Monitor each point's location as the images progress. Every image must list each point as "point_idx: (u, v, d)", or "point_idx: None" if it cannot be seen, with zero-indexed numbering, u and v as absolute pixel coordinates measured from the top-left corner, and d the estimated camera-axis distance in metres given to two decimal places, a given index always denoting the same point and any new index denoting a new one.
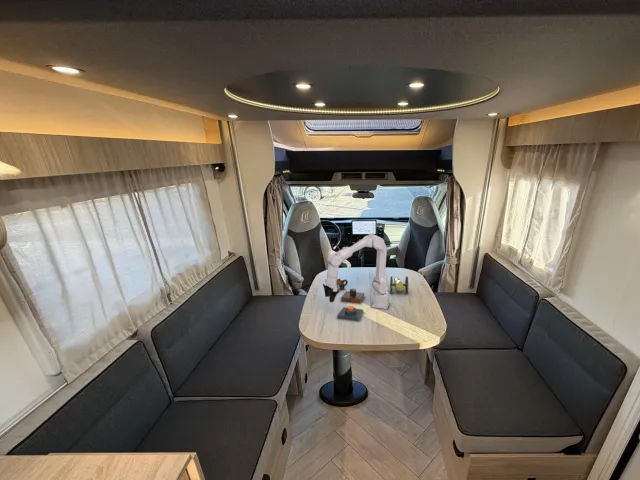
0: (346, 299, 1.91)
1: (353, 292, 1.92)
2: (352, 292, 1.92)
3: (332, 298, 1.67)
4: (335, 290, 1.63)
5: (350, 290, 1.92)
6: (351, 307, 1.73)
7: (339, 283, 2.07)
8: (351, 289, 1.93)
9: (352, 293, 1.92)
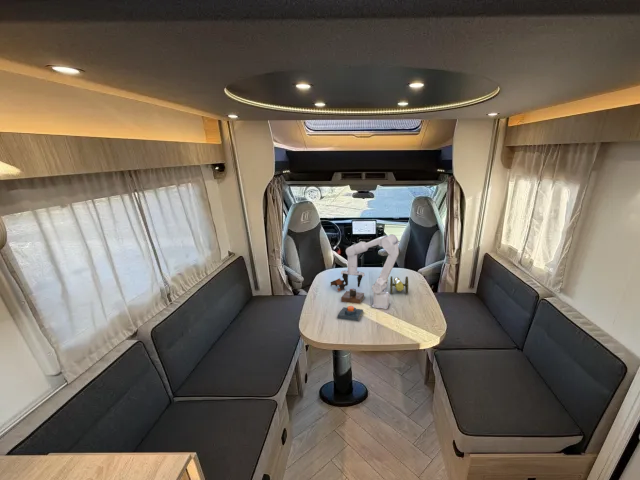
0: (346, 299, 1.91)
1: (353, 292, 1.92)
2: (352, 292, 1.92)
3: None
4: None
5: (350, 290, 1.92)
6: (351, 307, 1.73)
7: (339, 283, 2.07)
8: (351, 289, 1.93)
9: (352, 293, 1.92)
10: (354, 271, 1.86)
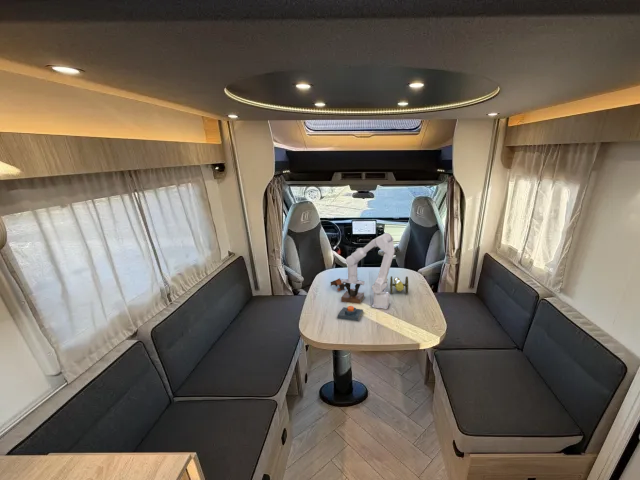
0: (346, 299, 1.91)
1: (353, 292, 1.92)
2: (352, 292, 1.92)
3: None
4: None
5: (350, 290, 1.92)
6: (351, 307, 1.73)
7: (339, 283, 2.07)
8: (351, 289, 1.93)
9: (352, 293, 1.92)
10: (354, 280, 1.88)
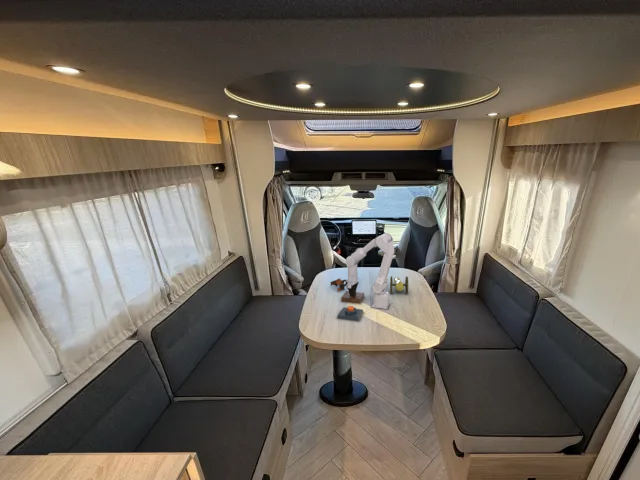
0: (346, 299, 1.91)
1: None
2: (355, 291, 1.94)
3: (351, 293, 1.91)
4: (349, 287, 1.85)
5: (354, 290, 1.92)
6: (351, 307, 1.73)
7: (339, 283, 2.07)
8: None
9: (355, 292, 1.94)
10: None
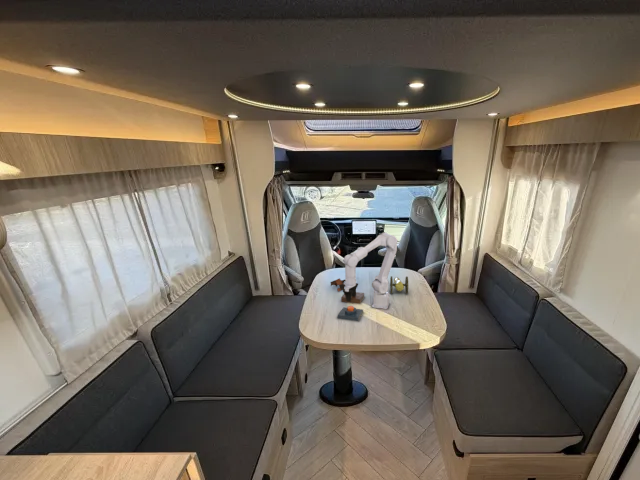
0: None
1: None
2: None
3: (348, 297, 1.72)
4: (346, 290, 1.68)
5: None
6: (351, 307, 1.73)
7: (339, 283, 2.07)
8: None
9: (355, 292, 1.94)
10: None
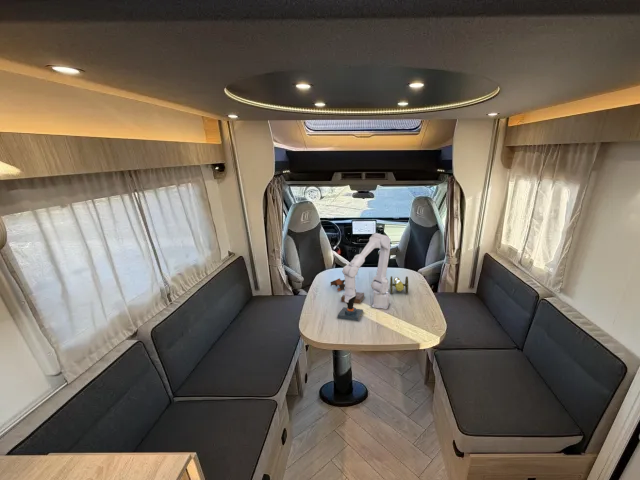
0: None
1: None
2: None
3: (350, 305, 1.72)
4: (346, 301, 1.65)
5: None
6: None
7: (339, 283, 2.07)
8: None
9: None
10: None
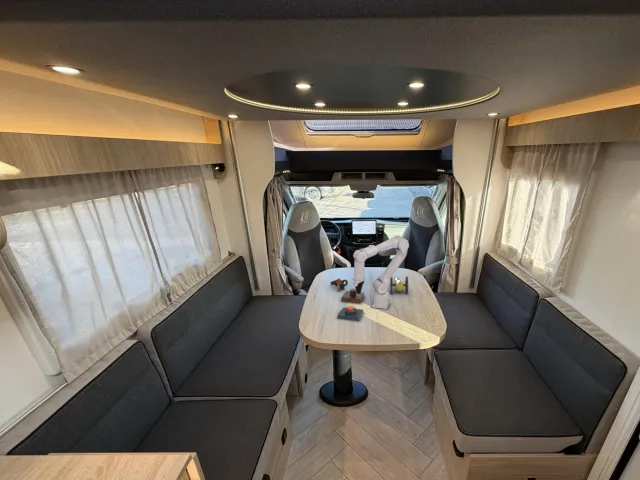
0: (346, 299, 1.91)
1: None
2: (355, 291, 1.94)
3: (358, 290, 1.79)
4: (355, 285, 1.71)
5: (354, 290, 1.92)
6: (351, 307, 1.73)
7: (339, 283, 2.07)
8: (352, 290, 1.92)
9: (355, 292, 1.94)
10: None
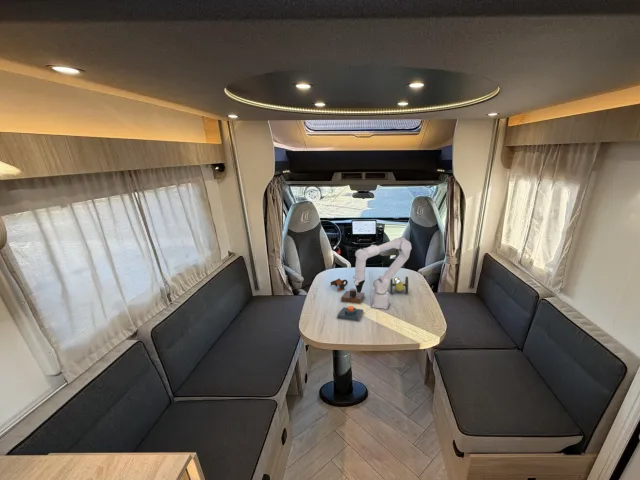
0: (346, 299, 1.91)
1: None
2: (355, 291, 1.94)
3: (358, 289, 1.80)
4: (356, 283, 1.73)
5: (354, 290, 1.92)
6: (351, 307, 1.73)
7: (339, 283, 2.07)
8: (352, 290, 1.92)
9: (355, 292, 1.94)
10: None
